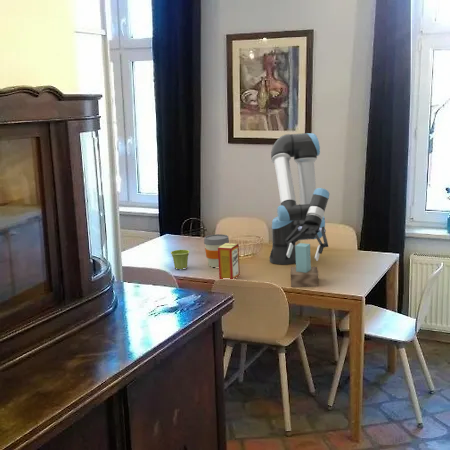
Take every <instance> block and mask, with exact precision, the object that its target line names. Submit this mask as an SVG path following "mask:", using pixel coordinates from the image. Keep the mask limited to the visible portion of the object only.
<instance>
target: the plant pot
mask: <svg viewBox="0 0 450 450" xmlns="http://www.w3.org/2000/svg"><path fill="white" fill-rule="evenodd" d="M170 254H171V257H172V261H173V264H174V265H173V266H174V269H175V268H177V269H182V270H184V269H183V268H186V267H187V268H188V261H189V260H188V259H189V255H190V250H188V249H175V250H172V251H171V252H170Z"/></svg>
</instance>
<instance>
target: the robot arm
mask: <svg viewBox="0 0 450 450" xmlns="http://www.w3.org/2000/svg"><path fill="white" fill-rule="evenodd" d="M320 149H321V146H320V141H319V138H318V136H317V135H316V134H315V133H312V132H311V133H308V132H306V133H292V134H290V133H287V134H283V135H281V136H279V137H278V139H276V141H275V142H274V143H273V146H272V148H271V152H270V158H271V163H273V164H274V169H275V171H274V172H275V177H276V183H277V188H278V196H279V203H280V205H279V206H277V209H276V210H277V211H276V213H277V216H275V217H273V219H272V220H271V234H272V235H271V236H272V247H271V250H270V254H269V262H270V263H271V264H275V265H293V264H296V253H295V246H296V245H297V244H296V243H297V242H298V241H303V240H304V241H306V240H307V241H308V240H317V242H318V243H319V244H318V245H317V248H316V251H315V255H314V260H315V261H316V262H318V261H319V258H320V255H322V254H323V251H324V248H329V243H328V239H327V234H326V232H327V230H326V220H325V216H324V214H325V211H326V207H327V205H328V201H329V198H330V192H329V191H328V190H327V189H325V188H323V187H317V183H316V169H315V168H316V167H315V163H316V161H317V160H318V156H320V153H321V150H320ZM291 158H293V161H294V162H295V163H296V164H297V176H298V190H299V192H298V193H299V204H297V200H296V195H295V194H296V192H295V187H294V182H293V176H292V171H291V164H290V161H291ZM321 238H322V240H323V242H322V240H321Z"/></svg>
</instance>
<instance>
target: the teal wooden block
mask: <svg viewBox="0 0 450 450" xmlns="http://www.w3.org/2000/svg"><path fill="white" fill-rule="evenodd" d="M295 245H296V246H295V253H296V263H295V267H296V272H304V273H307V272H308V271H310V270H311V267H312V263H311V261H312V260H311V244H310V243H302V242H299V243H297V244H295Z"/></svg>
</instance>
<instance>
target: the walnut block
mask: <svg viewBox="0 0 450 450" xmlns="http://www.w3.org/2000/svg"><path fill="white" fill-rule="evenodd" d="M318 273H319V271H318V266H311V270H310V271H308V272H307V273H304V272H296V266H294V267H293V266H291V267H290V287H291V288H315V287H317V288H318V287H319V274H318Z"/></svg>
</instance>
